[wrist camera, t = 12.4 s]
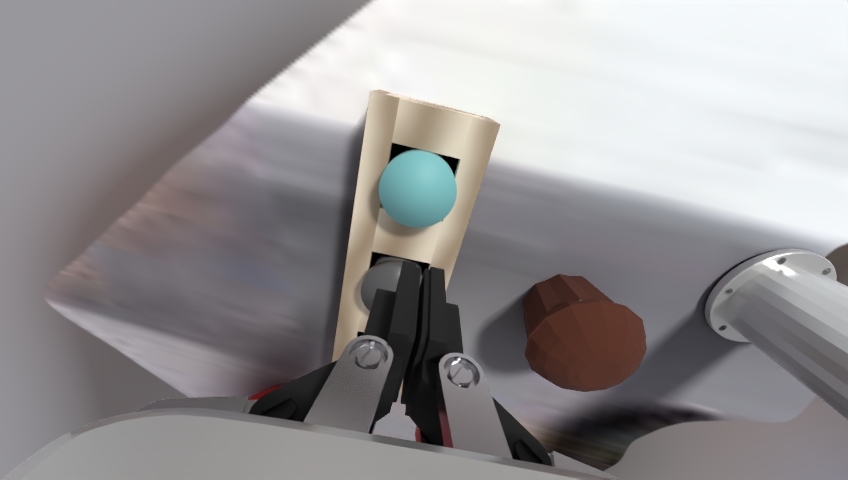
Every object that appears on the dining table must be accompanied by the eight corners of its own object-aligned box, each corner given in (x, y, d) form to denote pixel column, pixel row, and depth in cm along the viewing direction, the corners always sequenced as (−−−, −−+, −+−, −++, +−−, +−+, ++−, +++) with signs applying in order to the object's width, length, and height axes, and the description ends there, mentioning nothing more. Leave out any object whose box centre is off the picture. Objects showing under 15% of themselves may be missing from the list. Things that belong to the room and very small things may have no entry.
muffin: (513, 345, 40) (537, 419, 31) (505, 274, 35) (531, 338, 26) (608, 331, 39) (661, 405, 30) (614, 257, 34) (679, 318, 25)
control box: (489, 118, 28) (500, 124, 23) (413, 363, 42) (411, 396, 38) (376, 89, 27) (366, 89, 23) (337, 349, 41) (326, 381, 37)
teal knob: (459, 147, 28) (466, 163, 23) (442, 207, 31) (445, 234, 25) (394, 131, 28) (386, 143, 22) (383, 194, 30) (373, 218, 25)
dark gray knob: (432, 242, 33) (433, 274, 27) (420, 287, 35) (418, 325, 30) (376, 230, 32) (365, 260, 27) (368, 277, 35) (356, 313, 29)
